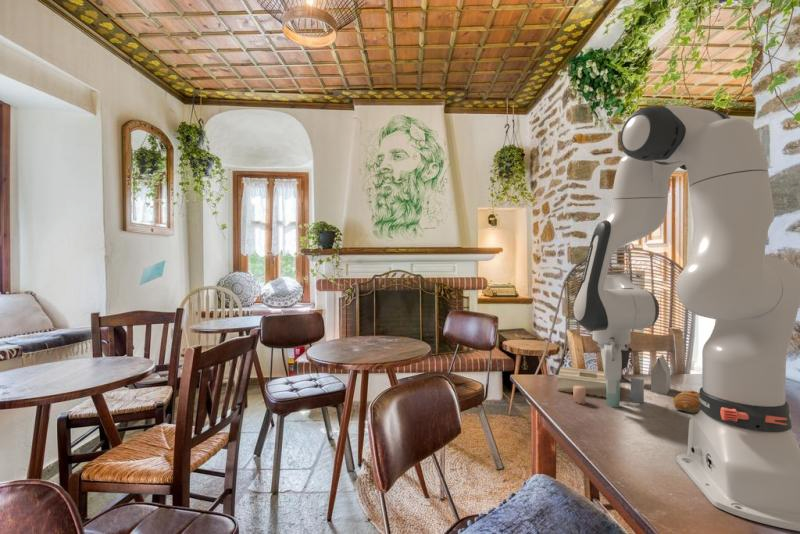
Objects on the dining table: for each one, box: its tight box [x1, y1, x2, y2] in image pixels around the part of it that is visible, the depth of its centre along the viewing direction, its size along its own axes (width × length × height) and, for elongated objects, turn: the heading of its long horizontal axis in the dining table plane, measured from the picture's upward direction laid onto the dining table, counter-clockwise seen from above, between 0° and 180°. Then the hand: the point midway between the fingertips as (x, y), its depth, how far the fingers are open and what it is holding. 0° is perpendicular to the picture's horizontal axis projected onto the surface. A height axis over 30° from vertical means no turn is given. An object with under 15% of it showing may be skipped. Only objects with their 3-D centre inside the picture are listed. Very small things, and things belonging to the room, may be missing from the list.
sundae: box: [619, 344, 633, 383], centre depth 122 cm, size 7×7×15 cm
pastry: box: [673, 390, 701, 414], centre depth 99 cm, size 9×7×4 cm
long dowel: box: [605, 379, 620, 409], centre depth 101 cm, size 3×3×8 cm
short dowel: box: [572, 386, 587, 404], centre depth 104 cm, size 3×3×4 cm
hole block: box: [557, 366, 621, 400], centre depth 115 cm, size 12×16×4 cm
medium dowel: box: [630, 377, 645, 404], centre depth 104 cm, size 3×3×6 cm
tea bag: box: [650, 353, 671, 396], centre depth 112 cm, size 4×7×10 cm, turn 137°
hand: (610, 386), depth 102 cm, fingers open, 8 cm apart
